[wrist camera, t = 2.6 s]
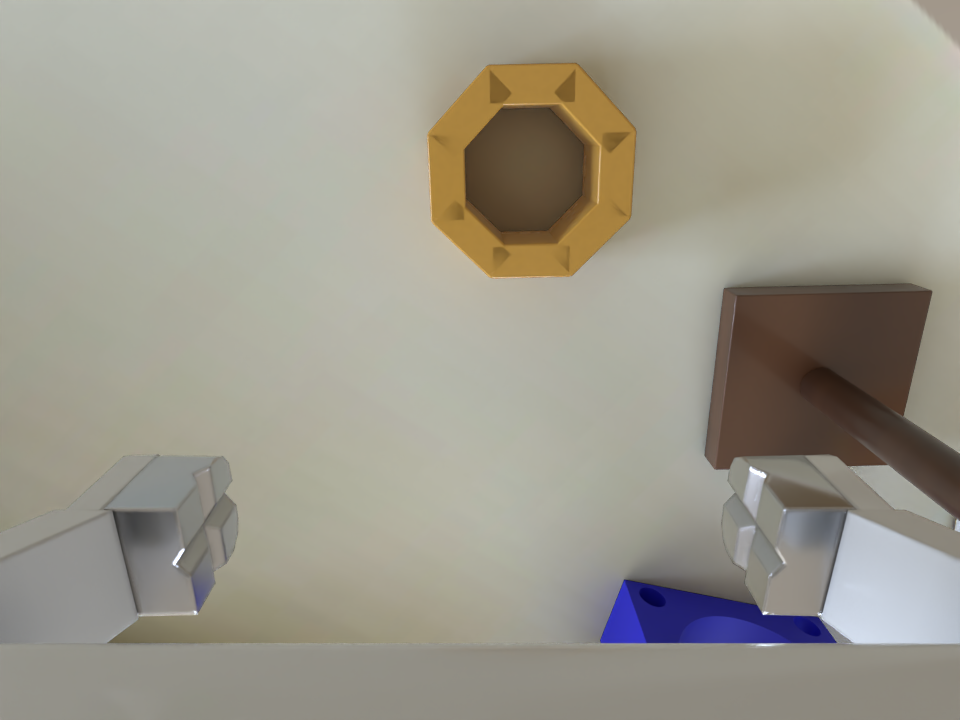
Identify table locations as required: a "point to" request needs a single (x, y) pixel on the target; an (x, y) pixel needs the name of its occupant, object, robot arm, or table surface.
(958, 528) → the candy box
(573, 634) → the table surface
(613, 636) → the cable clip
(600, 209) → the ring
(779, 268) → the table surface
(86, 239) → the table surface
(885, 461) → the peg stand
